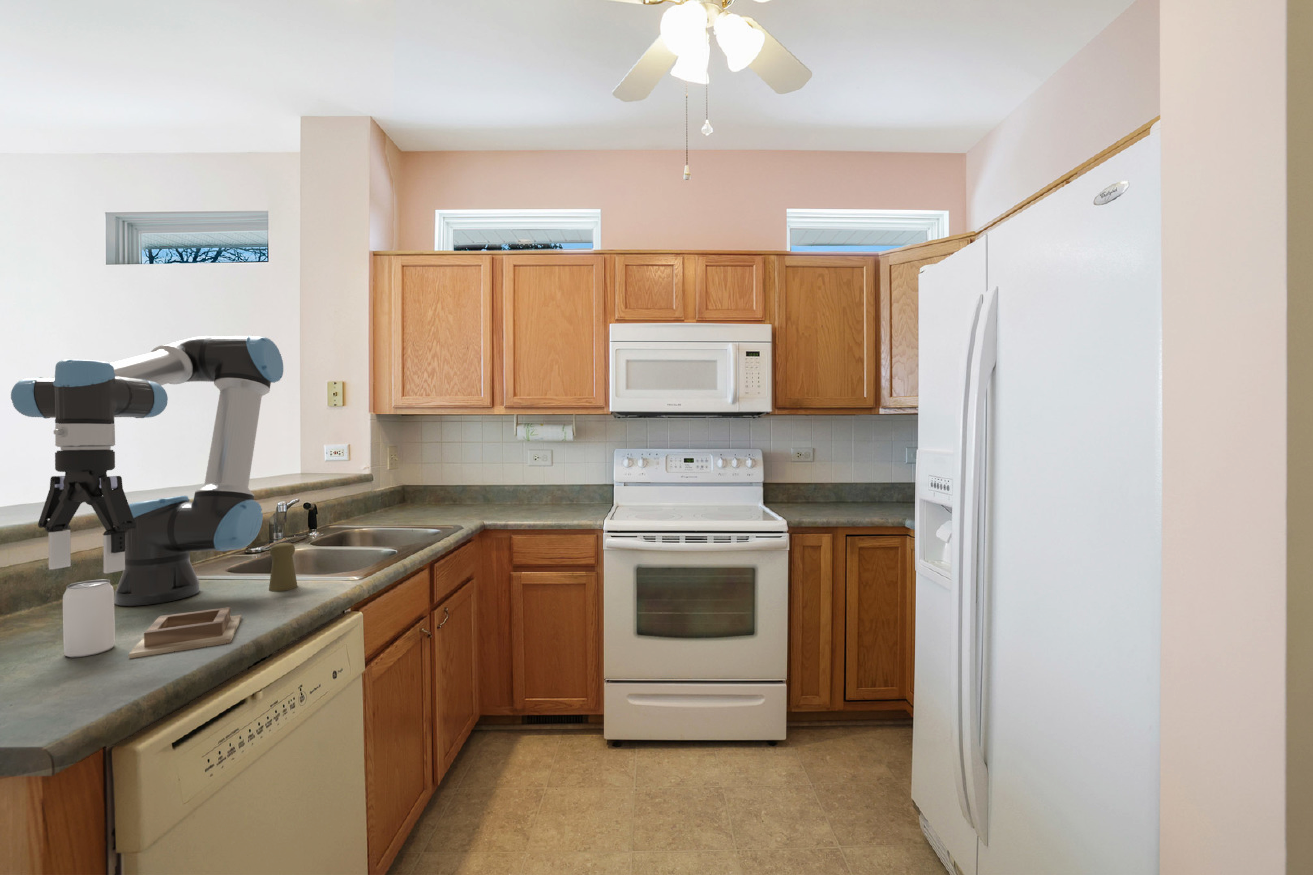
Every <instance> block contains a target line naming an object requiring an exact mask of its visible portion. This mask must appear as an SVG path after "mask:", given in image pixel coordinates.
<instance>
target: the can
mask: <svg viewBox="0 0 1313 875" xmlns="http://www.w3.org/2000/svg"><path fill="white" fill-rule="evenodd" d="M65 588H66V590H65V592H64V593H63V595H62V621H63V622H62V626H63V631H62V632H63V655H64V656H65V657H67V658H71V659H75V658H76V659H77V658H83V657H91V656H95V655H98V654H99V655H100V654H102V653H106V652H108V651H110V650H112V649H113V647H115V644H116V637H115V636H116V635H115V634H116V625H115V623H116V622H115V590H114V587H113V586H112V584H111V580H110V579H94V580H93V579H92V580H85V581H84V580H83V581H79V582H73V583H70V584H68V585H66V586H65Z"/></svg>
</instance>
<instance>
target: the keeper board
mask: <svg viewBox="0 0 1313 875" xmlns="http://www.w3.org/2000/svg"><path fill="white" fill-rule="evenodd" d="M241 620H242V614H239V615H238V614H237V615H231V607H230V606H229V607H221V608H220V607H219V608H213V609H212V608H211V609H205V610H204V609H203V610H198V611H190V612H189V611H188V612H182V613H181V612H180V613H173V614H165V615H159V616H158V617H157V618H156V619H155V621H154V622H152V624H150V626H149V627H148V628H147V629H146V630H145V631H144V632H143V637H142V638H141V640H140V641H139V642H138V643H137V644H136V645H135V646H134V647H133V648H132V650H130V652H129V653H128V659H134V658H141V657H147V656H156V655H160V654H167V653H173V652H174V651H175V652H179V651H180V652H181V651H187V650H193V649H199V648H206V646H207V647H213V646H219V645H225V644H226V643H227V644H231V642H232V639H233V637H234V636H235V634H236V632H237V628H238V627H239V625H240V622H241ZM234 633H235V634H234Z"/></svg>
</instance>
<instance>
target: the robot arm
mask: <svg viewBox="0 0 1313 875" xmlns="http://www.w3.org/2000/svg"><path fill="white" fill-rule="evenodd" d="M283 375H284V360H283V357H282V354H281V352H280V349H279V348H278V346H277V345H276V343H274V341H273V340H272V339H270V338H268V337H265V336H254V335H251V334H250V335H230V336H229V335H202V336H194V337H190V338H185V339H180V340H178V341H174V342H170V343H166V344H161V345H158V346H156V347H154V348H153V349H152V350H151V351H150V352H149V353H145V354H141V355H136V356H132V357H129V358H125V359H121V360H117V361H114V362H107V361H101V360H93V359H92V360H90V359H76V358H75V359H61V360H59V361H57V363H56V364H55V371H54V377H42V376H37V377H30V378H23V379H21V380H19V381H17V382H16V383H15V384H14V385H13V387H12V389H11V391H10V400H11V403H12V406H13V408H14V409H15V410H16V411H17V412H18V413H19V414H21V415H23V416H25V417H28V418H43V419H53V418H55V419H54V423H55V428H54V430H53V434H54V435H55V437H54V438H55V441H54V442H55V444H54V445H55V447H57V448H60V450H56V452H54V469H55V471H56V472H59V473H64V475H52V476H50V481H49V490H48V493H47V496H46V498H45V502H44V505H43V507H42V511H41V514H40V517H39V519H38V523H37V527H38V528H40V529H42V528H44V530H45V532H47V533H48V570H57V569H63V568H68V567H71V564H72V561H71V559H72V558H71V557H72V556H71V546H72V545H71V529H72V527H71V526H70V523H71V521H72V520H73V518H74V516H75V515H76V513H77V511H78V509H79V508H80V506H81V505H82V503H85V504H87V505H89V506H91V507H92V510H93V511H94V513H95V514H96V517H98V519H99V522H101V524H102V526H103V527H104V529H105V531H104V532H103V533H102V535H103V538H102V540H103V542H102V543H103V549H102V550H103V552H102V554H103V574H110V573H117V572H121V571H122V574H121V577H120V579H119V582H118V584H117V587H116V589H115V590H114V605H116V606H121V607H122V606H123V607H135V606H147V605H154V604H155V605H156V604H162V603H163V604H164V603H166V602H173V601H177V600H181V599H186V598H189V597H191V596H194V595H196V594H198V593H199V592H200V580H199V578H198V576H197V574H196V572H195V569H194V567H193V565H192V563H191V561H190V560H191V558H190V552H210V551H211V552H214V551H215V552H217V551H218V552H227V551H236V550H242V549H245V548H246V547H248V546H249V545H250V544H251V543H252V542H253V541H255V539H256V538H257V537H258V534H259V533H260V531H261V528H262V524H263V519H264V513H263V512H262V510H263V509H262V506H261V504H260V503H259V502H258V501H256V500H255V494H254V493H253V492H252V491H251V490H250V489H249V484H250V483H249V482H250V478H251V471H252V464H253V457H254V452H255V444H256V438H257V431H258V424H259V418H260V417H259V416H260V410H261V403H262V398H263V396H265V395H267V394H269V393H270V391H271V385H272V383H273V384H274V383H277V382H280V381H281V379H282V378H283ZM189 382H206V383H207V382H210V383H211V382H212V383H213V385H214V386H215V387H216V388H217V389H218V390H219V395H218V396H219V397H218V403H217V407H216V414H215V420H214V426H213V432H212V436H211V443H210V449H209V454H208V455H209V456H208V461H207V466H206V473H205V479H204V485H202V487H199V488H198V489H197V490H195V491H194V496H193V500H192V501H190V498H189V496H188V495H178V496H171V497H164V498H158V499H150V500H149V499H148V500H143V501H137V502H132V503H129V502H128V500H127V496H126V493H125V491H124V489H123V478H122V476H121V475H113V476H112V475H111V476H109V475H108V473H107V472H108V471H112V470H114V469H115V467H116V452H115V451H114V449H111V448H112V447H114V446H116V430H115V429H116V428H115V427H116V425H115V418H135V419H144V418H153V417H154V418H155V417H157V416H158V415H161V413H163V412H164V411H165V409H166V407H167V406H168V401H169V400H168V398H169V397H168V394H167V391H166V389H165V388H164V387H163V386H164V385H167V384H170V385H180V384H183V383H189Z"/></svg>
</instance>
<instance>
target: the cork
mask: <svg viewBox="0 0 1313 875" xmlns="http://www.w3.org/2000/svg"><path fill="white" fill-rule="evenodd" d="M295 553H296V548H295V545H294V544H293V543H290V542H280V543H276V544H273V545H271V547H270V550H269V554H270V557H271V558H272V562H271V563H272V564H271V570H270V571H271V572H270V578H269V584H268V585H269V586H268V591H269V592H283V591H289V590H294V589H297V587H298V582H297V576H296V570H295V565H294V564H295V563H294V557H293V556H294V554H295Z"/></svg>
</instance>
